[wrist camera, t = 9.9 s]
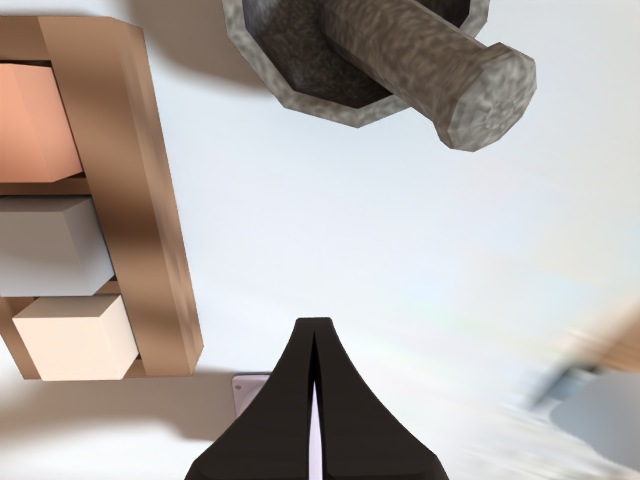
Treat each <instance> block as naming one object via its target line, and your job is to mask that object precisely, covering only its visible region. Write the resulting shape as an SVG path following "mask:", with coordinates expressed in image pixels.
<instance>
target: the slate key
mask: <svg viewBox="0 0 640 480" xmlns="http://www.w3.org/2000/svg"><path fill="white" fill-rule="evenodd" d="M115 274H116V273H115V270H114V266H113V263H112V260H111V257H110V253H109V250H108V247H107V243H106V240H105V237H104V234H103V230H102V227H101V224H100V220H99V217H98V214H97V211H96V207H95V204H94V201H93V197H92V194H65V195H9V196H6V197H3V198H0V295H1V297H21V296H92V295H93V294H94V293H95V292H96V291H97V290H98V289H99V288H101V287H102V286H103V285H104V284H105V283H106V282H107V281H108V280H109V279H110V278H111V277H112V276H113V275H115Z"/></svg>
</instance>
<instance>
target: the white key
mask: <svg viewBox="0 0 640 480" xmlns="http://www.w3.org/2000/svg"><path fill="white" fill-rule="evenodd" d="M12 320H13V322H14V324H15V326H16V328H17V330H18V332H19V334H20V336H21V338H22V340H23V342H24V344H25V346H26V348H27V350H28V352H29V354H30V356H31V358H32V360H33V362H34V364H35V366H36V368H37V370H38V372H39V374H40V376H41V379H42V381H68V380H120V379H122V378H123V376H124V375H125V373H126V372H127V370H128V369H129V367H130V366H131V364H132V363H133V361H134V360H135V358H136V357H137V355H138V354H139V349H138V345H137V342H136V339H135V335H134V332H133V329H132V326H131V322H130V319H129V316H128V312H127V309H126V306H125V303H124V299H123V296H122V293H102V294H93V295H92V296H41V297H39V298H38V299H37V300H35V301H34V302H33V303H31V304H30V305H29V306H28V307H26V308H25V309H24V310H22V311H21V312H20V313H18V314H17V315H16V316H14V317H13V318H12Z"/></svg>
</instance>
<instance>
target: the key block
mask: <svg viewBox="0 0 640 480" xmlns="http://www.w3.org/2000/svg"><path fill="white" fill-rule="evenodd" d="M0 64H18V65H29V66H40V67H51V68H53V69H54V73H55V76H56V79H57V82H58V86H59V89H60V92H61V96H62V99H63V102H64V105H65V109H66V112H67V115H68V119H69V122H70V125H71V128H72V132H73V135H74V138H75V142H76V145H77V148H78V151H79V155H80V158H81V161H82V165H83V168H84V171H83V172H80V173H77V174H74V175H71V176H68V177H66V178H63V179H60V180H57V181H54V182H0V198H3V197H6V196H9V195H65V194H92V197H93V201H94V204H95V207H96V211H97V214H98V217H99V220H100V224H101V227H102V230H103V234H104V237H105V240H106V243H107V247H108V250H109V253H110V257H111V260H112V263H113V266H114V270H115V273H116V274H115V275H113V276H112V277H111V278H110V279H109V280H108V281H107V282H106V283H105V284H104V285H103V286H102V287H101V288H99V289H98V290H97V291H96V292H95V293H94V294H102V293H122V296H123V299H124V303H125V306H126V309H127V312H128V316H129V319H130V322H131V326H132V329H133V332H134V335H135V339H136V342H137V345H138V349H139V354H138V355H137V357H136V358H135V360H134V361H133V363H132V364H131V366H130V367H129V369H128V370H127V372H126V373H125V375H124V376H123V378H129V377H181V376H192V374H193V371H194V369H195V366H196V364H197V362H198V359H199V357H200V355H201V352H202V350H203V347H204V346H203V340H202V335H201V330H200V325H199V320H198V315H197V309H196V304H195V299H194V294H193V289H192V284H191V279H190V273H189V268H188V263H187V258H186V253H185V248H184V242H183V237H182V232H181V227H180V222H179V217H178V211H177V206H176V201H175V196H174V191H173V186H172V180H171V175H170V170H169V165H168V160H167V155H166V149H165V144H164V139H163V134H162V129H161V124H160V119H159V113H158V108H157V103H156V98H155V93H154V88H153V82H152V77H151V72H150V67H149V62H148V57H147V51H146V46H145V41H144V36H143V31H142V28H139V27H136V26H134V25H131V24H128V23H125V22H123V21H120V20H117V19H115V18H112V17H64V16H0ZM39 297H41V296H21V297H1V295H0V334H1V336H2V338H3V340H4V342H5V344H6V346H7V348H8V350H9V351H10V353H11V355H12V357H13V359H14V361H15V363H16V365H17V367H18V369H19V371H20V372H21V374H22V376H23V378H24V379H41V376H40V374H39V372H38V370H37V368H36V366H35V364H34V362H33V360H32V358H31V356H30V354H29V352H28V350H27V348H26V346H25V344H24V342H23V340H22V338H21V336H20V334H19V332H18V330H17V328H16V326H15V324H14V322H13V320H12V318H13V317H14V316H16V315H17V314H18V313H20V312H21V311H22V310H24V309H25V308H26V307H28V306H29V305H30V304H31V303H33V302H34V301H35V300H37V299H38V298H39Z"/></svg>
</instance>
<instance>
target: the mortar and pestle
mask: <svg viewBox="0 0 640 480" xmlns="http://www.w3.org/2000/svg"><path fill="white" fill-rule="evenodd" d="M489 2H490V0H222V4H223V10H224V17H225V24H226V30H227V37H228V38H229V39H230V41H231V42H232V43H233V44H234V46H235V47H236V48H237V49H238V51H239V52H240V53H241V54H242V56H243V57H244V58H245V59H246V61H247V62H248V63H249V64H250V66H251V67H252V68H253V69H254V71H255V72H256V73H257V74H258V76H259V77H260V78H261V79H262V81H263V82H264V83H265V84H266V86H267V87H268V88H269V89H270V91H271V92H272V93H273V94H274V96H275V97H276V98H277V99H278V101H279V102H280V103H281V104H282V106H283V107H284V108H287V109H291V110H294V111H298V112H301V113H305V114H309V115H312V116H316V117H319V118H323V119H326V120H330V121H334V122H337V123H341V124H344V125H348V126H351V127H355V128H360V127H362V126H365V125H367V124H370V123H372V122H375V121H377V120H380V119H382V118H385V117H387V116H390V115H392V114H394V113H397V112H399V111H402V110H404V109H407V108H409V107H413V108H414V109H415V110H417V111H418V112H420V113H421V114H422V115H424V116H425V117H427V118H428V119H429V120H431V121H432V122H433V124H434V126H435V129H436V131H437V133H438V136H439V138H440V141H442V142H443V143H444V144H445V145H446V146H448V147H449V148H450V149H456V150H463V151H469V152H475V151H477V150H479V149H481V148H483V147H486V146H488V145H490V144H492V143H494V142H496V141H498V140H499V139H500V138H501V137H502V136H503V135H504V134H505V133H506V132H507V131H508V130H509V129H510V128H511V127H512V126H513V125H514V124H515V123H516V122H517V121H518V120H519V119H520V118H521V117H522V116H523V114H524V112H525V110H526V108H527V106H528V104H529V102H530V100H531V98H532V96H533V94H534V92H535V90H536V88H537V85H536V65H535V61H534V59H532V58H531V57H529V56H527V55H525V54H523V53H521V52H519V51H517V50H515V49H513V48H511V47H509V46H507V45H504V44H502V43H500V42H498V43H496V44H494V45H491V46H489V47H486V46H485V45H483V44H482V43H480V42H479V41H477V40H476V39H474V38H475V37H476V36H477V34H478V33H479V31H480V30H481V29H482V27H483V26H484V25H485V23H486V22H487V17H488V10H489Z"/></svg>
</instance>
